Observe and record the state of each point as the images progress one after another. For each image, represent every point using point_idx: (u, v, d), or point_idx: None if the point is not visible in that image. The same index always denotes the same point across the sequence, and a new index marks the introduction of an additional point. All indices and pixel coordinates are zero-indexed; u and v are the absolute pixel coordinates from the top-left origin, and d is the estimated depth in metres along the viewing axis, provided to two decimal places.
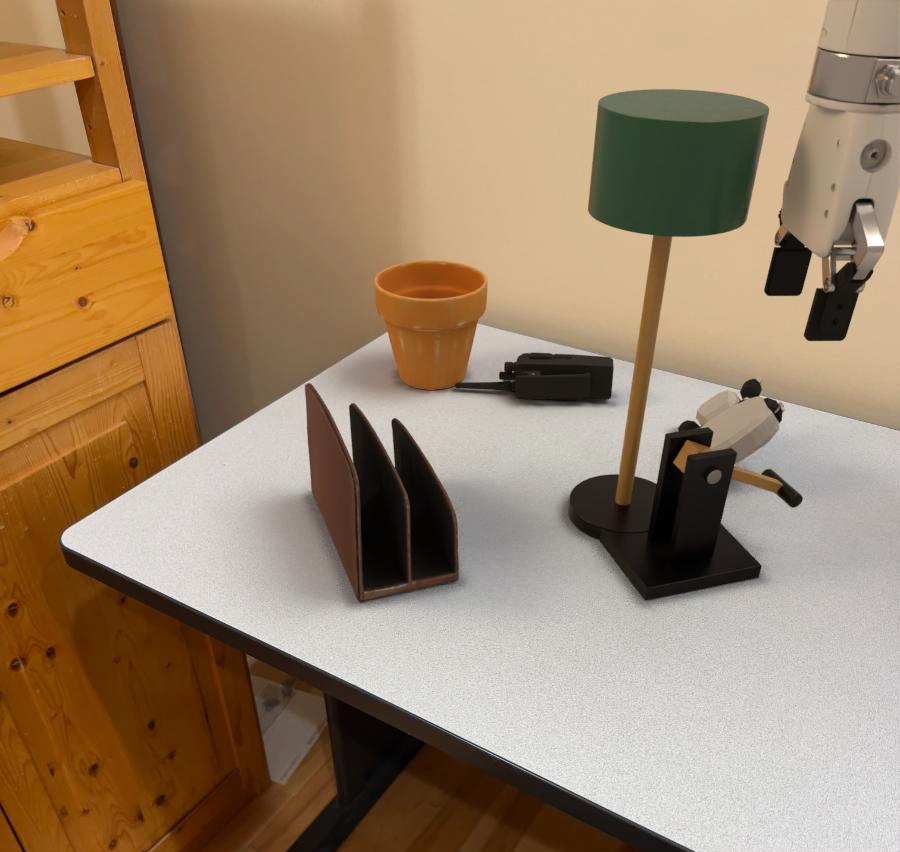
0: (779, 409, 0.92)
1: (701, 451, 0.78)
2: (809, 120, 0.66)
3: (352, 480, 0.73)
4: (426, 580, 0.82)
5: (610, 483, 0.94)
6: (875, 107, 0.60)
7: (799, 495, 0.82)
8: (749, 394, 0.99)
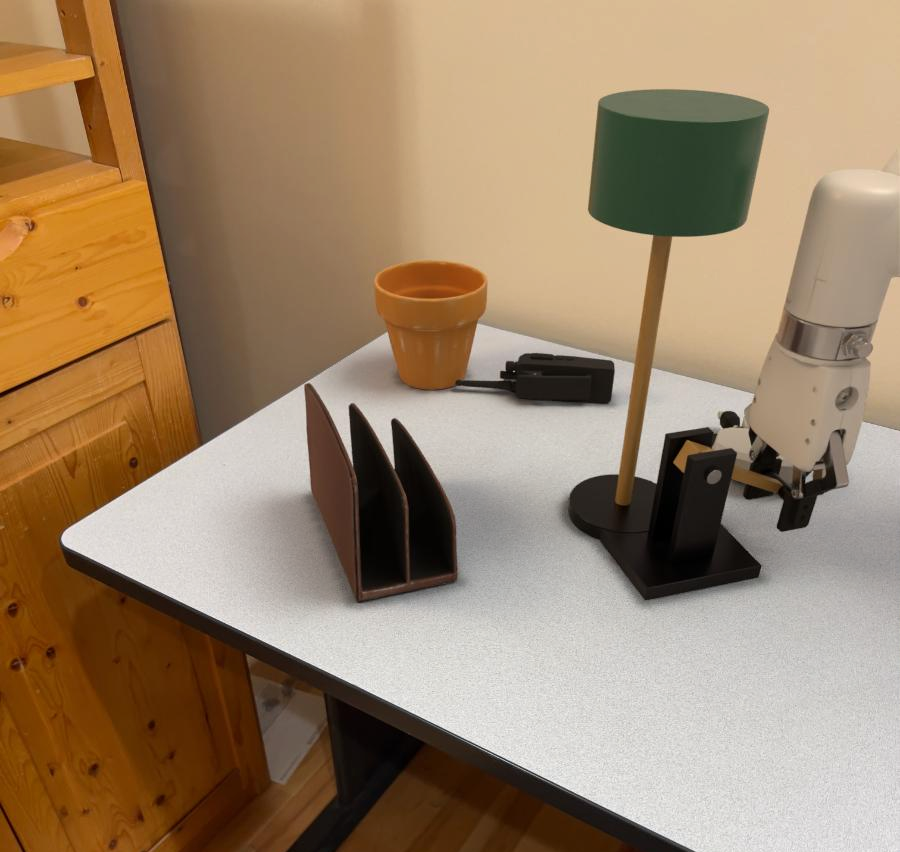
0: None
1: (701, 451, 0.78)
2: (776, 358, 0.78)
3: (350, 480, 0.73)
4: (425, 580, 0.82)
5: (610, 483, 0.94)
6: (843, 362, 0.73)
7: None
8: None
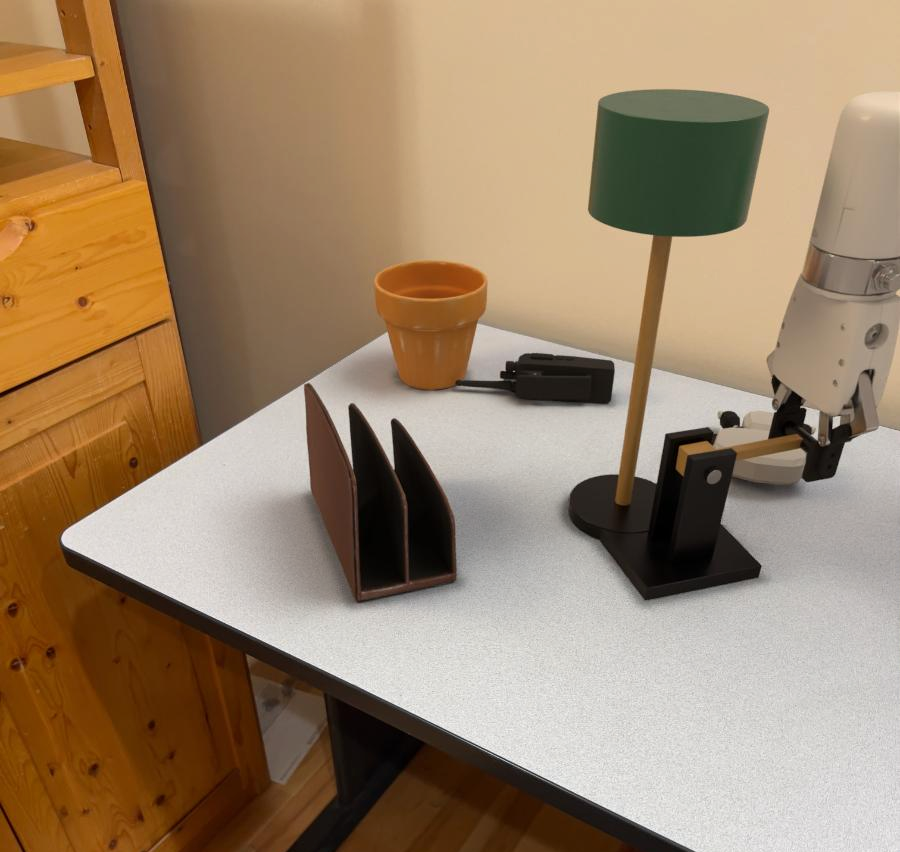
0: None
1: None
2: (801, 298, 0.75)
3: (349, 480, 0.73)
4: (424, 581, 0.82)
5: (610, 483, 0.94)
6: (873, 297, 0.70)
7: None
8: None
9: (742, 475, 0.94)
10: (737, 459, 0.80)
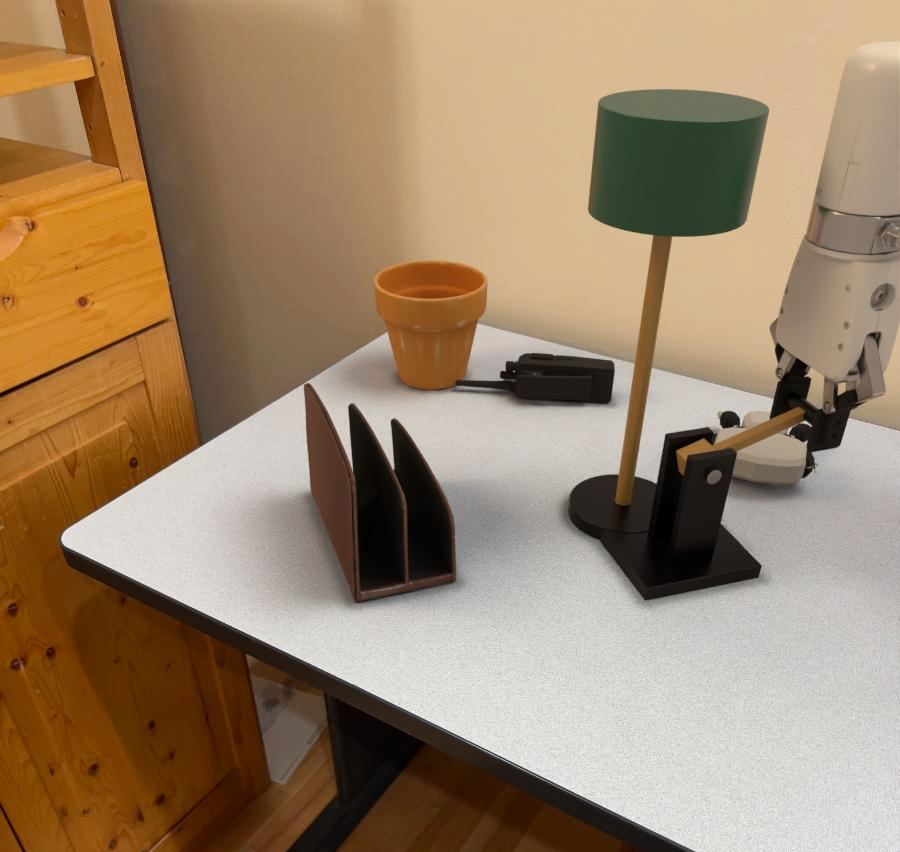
0: (811, 468, 0.94)
1: None
2: (805, 260, 0.73)
3: (349, 480, 0.73)
4: (423, 581, 0.82)
5: (610, 483, 0.94)
6: (879, 256, 0.67)
7: None
8: (798, 435, 1.00)
9: (742, 475, 0.94)
10: (739, 449, 0.79)
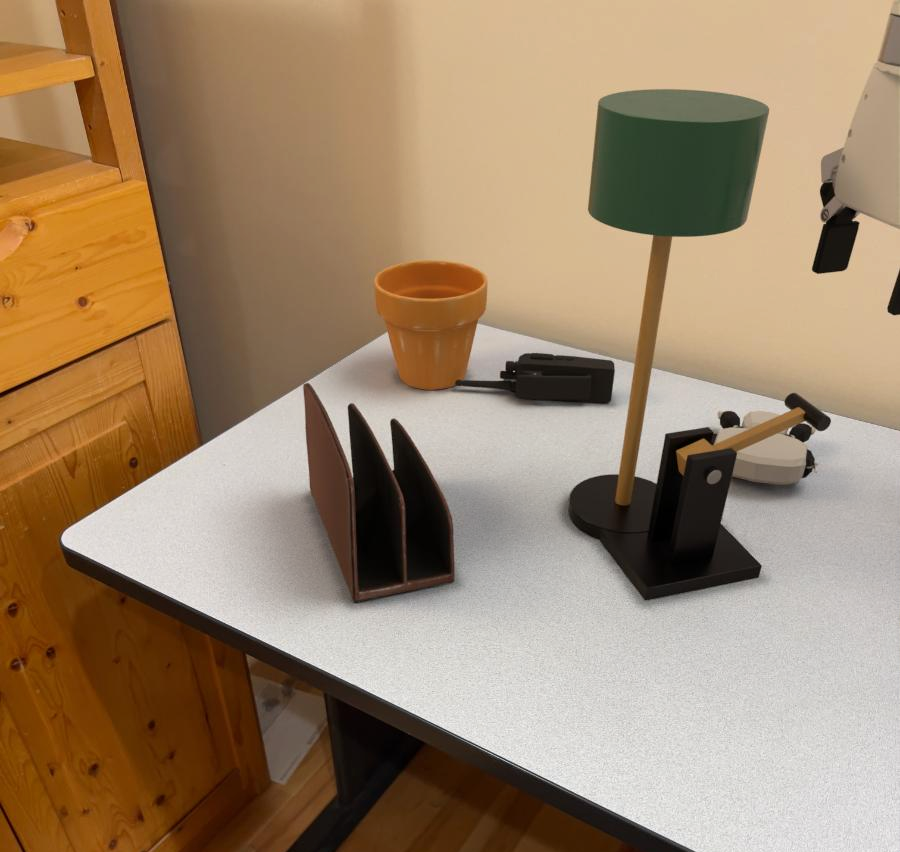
0: (811, 468, 0.94)
1: None
2: (875, 91, 0.65)
3: (347, 480, 0.73)
4: (422, 581, 0.82)
5: (610, 483, 0.94)
6: None
7: (823, 418, 0.77)
8: (798, 435, 1.00)
9: (742, 475, 0.94)
10: (739, 449, 0.79)
